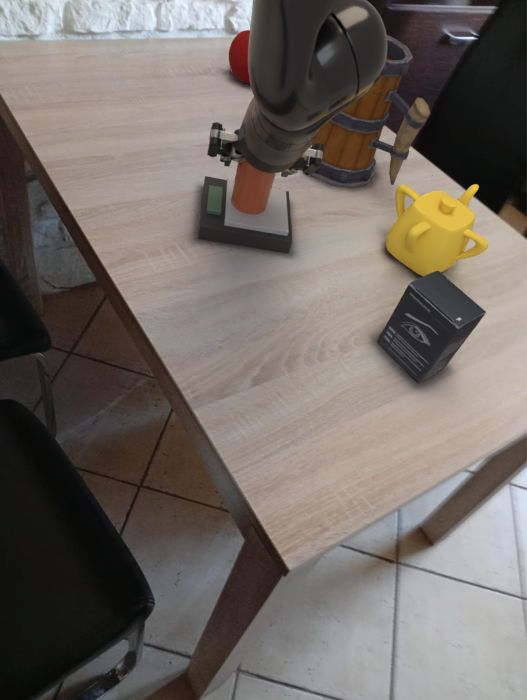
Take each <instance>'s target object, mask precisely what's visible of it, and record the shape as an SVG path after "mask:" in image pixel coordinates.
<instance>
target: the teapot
mask: <svg viewBox="0 0 527 700" xmlns="http://www.w3.org/2000/svg"><path fill="white" fill-rule="evenodd" d="M479 188H480V186H479V184H477V183H475V184H472V185H470V186H469V187H468V188H467V189H466V190H465V191H464V192H463V194H462V195H460V197H458V199H456V198H455V197H454V196H451V195H450V194H448V193H446V192H445V191H443V190H432V191H429V192H427V193H425V194H423V195H420V194H419V193H418V192H417V191H415V189H414V188H412V187H411V186H408V185H407V184H399V185H398V186H397V187H396V189H395V193H394V194H395V196H394V199H395V200H394V201H395V208H396V209H395V210H396V214H397V218H396V220H395V221H394V222H393V224H392V226H391V227H390V229H389V231H388V232H387V234H386V238H385V247H386V250H387V252H388V253H390V254H391V256H393V257H394V258H395V259H397V260H398V261H399V262H400V263H402V264H403V265H404V266H406V267H407V268H408V269H410V270H411V271H413V272H414V273H416V274H417V275H420V277H423V276H425V275H427V274H430V273H432V272H435V271H439V272H440V273H441V274H442V272H445V271H447V270H448V269H450V268H451V267H452V266H454V265H455V264H456V263H458V261H461V260H464V259H465V260H466V259H470V258H473V257H476V256H479V255H481V254H483V253H484V252H485V251H487V250H488V248H489V242H488V241H487V239H486V238H485V237H484V236H482V235H481V234H479V233H477V232H475V231H473V229H474V224H475V220H476V214H475V212H474V211H473V210H472V209H470V208H469V205H470V203H471V201H472V199H473V198H474V195H475V194H476V193H477V192H478V190H479ZM406 196H407V197H409V198H410V199H411V200H412V201H413V202H412V203H411V204H410V205H409V206H408V207H407V208H406V209H405V201H406V199H405V198H406ZM470 240H471V241H473V242H474V243H475V245H474V246H473V247H471V248H469V249H468V250H466V248H467V246H468V244H469V242H470ZM465 250H466V251H465Z"/></svg>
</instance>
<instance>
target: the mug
mask: <svg viewBox="0 0 527 700" xmlns="http://www.w3.org/2000/svg"><path fill="white" fill-rule="evenodd" d="M387 43H388V46H387V58H386V62H385V66H384V69H383V72H382V74H381V76H380V78H379V79H378V81H377V82H376V84H375V85H374V86H373V87H372V88H371V89H370V90H369V91H368V92H367V93H366V94H364V95H363V96H362V97H361V98H359V99H358V100H357V101H356V102H354V103H353V104H351V105H350V106H349V107H347V108H346V109H345V110H343V111H342V112H340V113H339V114H338V115H336V116H335V117H333V118H332V119H331V120H330V121H329V122H328V123H327V124H325V125H324V127H323V128H322V130H321V131H320V132H319V133H318V135H317V136H316V137H315V138H314V140H313V142H312V144H311V146H313V145H314V144H318V143H321V144H323V145H324V151H323V157H322V164H321V167H320V168H318V169H317V170H316V171H315V172H314V173H313V174H312V175H311V177H314V178H315V179H317V180H320V181H322V182H324V183H326V184H329V185H331V186H338V187H342V188H343V187H344V188H350V189H352V188H356V187H361V186H366V185H368V184H369V182H370V181H371V180H372V179H373V177H374V176H375V174H376V172H375V169H374V167H375V166H376V164H377V160H376V158H375V156H376V152H377V149H379V150H381V151H384V152H386V153H388V154H389V156H390V161H389V171H388V175H389V182H390V185H391V186H394V185H395V182H396V180H397V178H398V174H399V173H400V170H401V167H402V165H403V163H404V161H406V160H407V159H408V157H409V154H410V148H411V146H412V143H413V142H414V140H415V139H416V137H417V136H418V134H419V132H420V130H422V129H423V127H424V126H425V124H426V123H427V121H428V119H429V117H430V115H431V109H430V106H429V104H428V103H427V102H426V100H425V99H424V98H422V97H416V99H415V100H414V102H413V103H412V105H411V106H409V103H407V102H406V101H405V100H404V99H403V98H402V97H401V96H400V95H399V94H398V92H397V91H398V88H399V85H400V83H401V80H402V78H403V76H406V74H408V72H409V68H410V66H411V65H412V63H413V59H414V56H413V54H412V52H411V50H410V48H409V46H407V45H406V44H404V43H402V42H401V41H400V40H398V39H397V38H395V37H392V36H390V35H388V34H387ZM392 103H393V105H395V106H396V108H398V109H399V110H400V111H401V113H402V114H403V120H402V122H401V124H400V127H399V128H398V131H397V133H396V135H395V139H394V142H393V145H392V144H390V143H387V142H385V141H381V140H380V138H381V136H382V132H383V129H384V127H385V126H386V123H387V122H388V119H389V116H390V113H389V110H390V107H391V105H392Z"/></svg>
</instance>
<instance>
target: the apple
mask: <svg viewBox="0 0 527 700" xmlns="http://www.w3.org/2000/svg"><path fill="white" fill-rule="evenodd" d="M249 35H250V29H246V30H245V29H244V30H242V31H240V32H238V33H237V34H236V36H235V37H234V38H233V39H232V41H231V43H230V46H229V49H228V64H229V68H230V71H231V73H232V75H233V76H234V77H235V78H237V79H238V81H241V82H242V83H244V84H246V85H250V79H249V72H248V45H249Z"/></svg>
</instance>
